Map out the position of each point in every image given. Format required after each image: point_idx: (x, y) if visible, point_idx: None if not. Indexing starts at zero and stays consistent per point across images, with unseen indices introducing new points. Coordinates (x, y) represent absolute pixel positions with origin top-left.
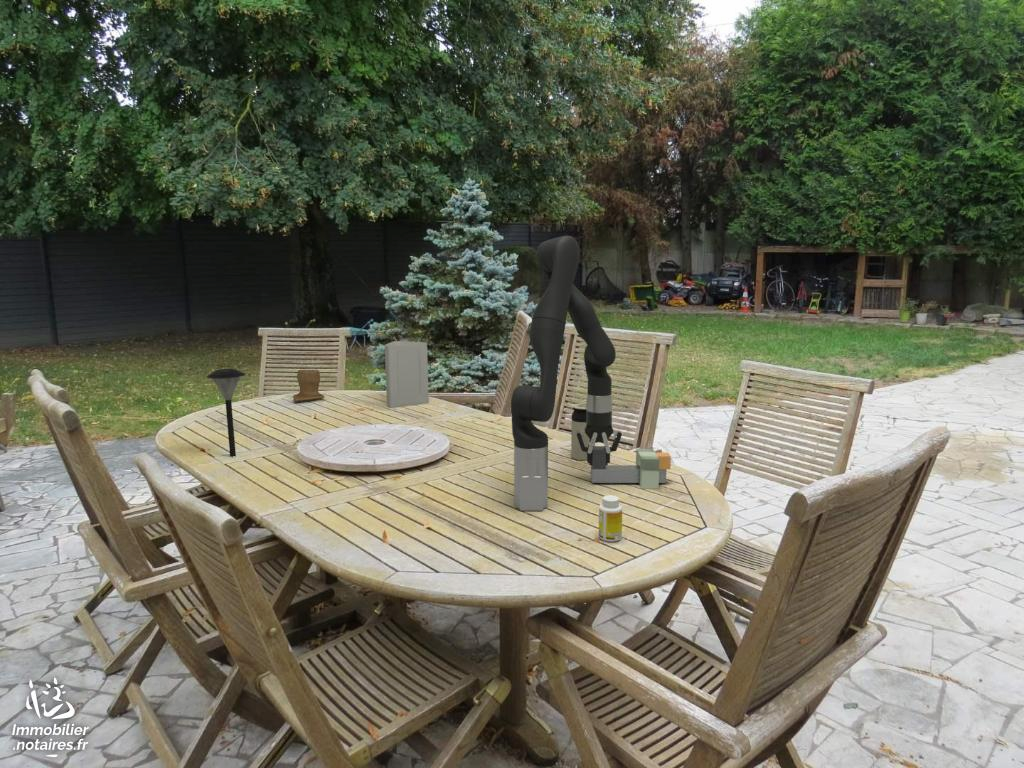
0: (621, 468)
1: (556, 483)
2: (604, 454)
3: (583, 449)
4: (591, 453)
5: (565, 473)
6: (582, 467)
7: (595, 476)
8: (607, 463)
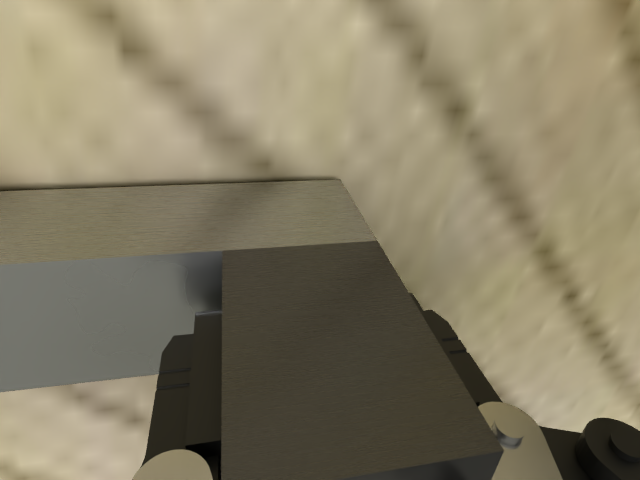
0: (16, 293)
1: (576, 192)
2: (252, 401)
3: (636, 445)
4: None
5: None
6: None
7: (323, 206)
8: (198, 323)
